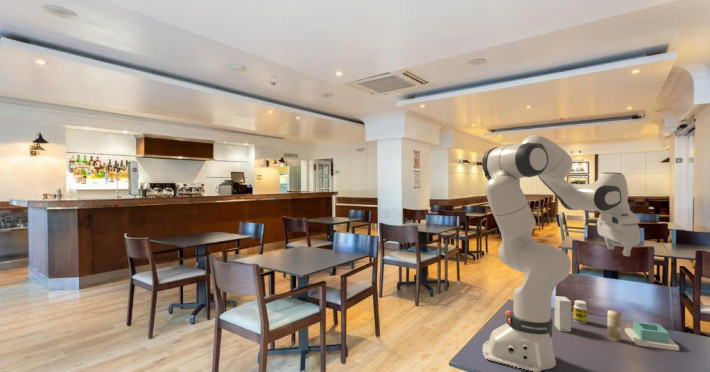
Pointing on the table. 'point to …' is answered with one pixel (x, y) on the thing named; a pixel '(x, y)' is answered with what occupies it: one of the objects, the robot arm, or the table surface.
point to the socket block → (651, 336)
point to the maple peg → (614, 326)
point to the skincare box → (563, 313)
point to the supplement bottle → (580, 312)
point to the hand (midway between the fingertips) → (618, 252)
